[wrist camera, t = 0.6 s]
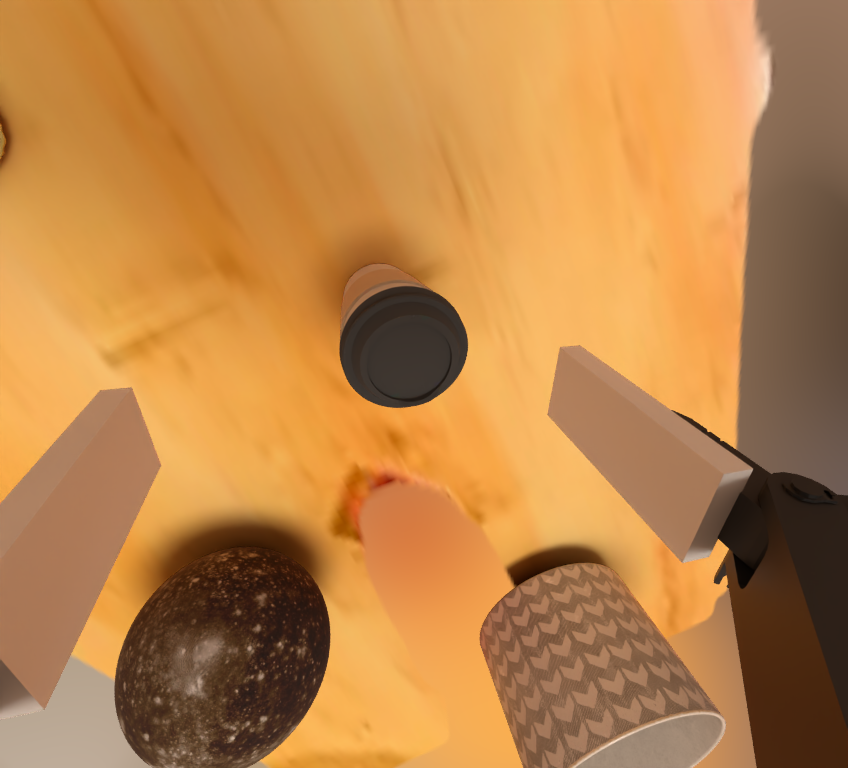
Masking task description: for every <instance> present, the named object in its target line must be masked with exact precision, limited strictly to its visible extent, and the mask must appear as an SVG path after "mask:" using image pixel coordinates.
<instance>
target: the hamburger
mask: <svg viewBox="0 0 848 768" xmlns="http://www.w3.org/2000/svg"><path fill="white" fill-rule="evenodd" d="M5 145H6V138H5V135H4V133H3V131H2V125H1V123H0V160H1V157H2V156H3V154H4V147H5Z"/></svg>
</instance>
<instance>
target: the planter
mask: <svg viewBox="0 0 848 768" xmlns="http://www.w3.org/2000/svg"><path fill="white" fill-rule="evenodd" d="M480 645H481V648H482V651H483V654H484V657H485V659H486V662H487V665H488V668H489V670H490V674H491V676H492V679H493V682H494V685H495V688H496V691H497V694H498V697H499V699H500V702H501V705H502V708H503V710H504V714H505V717H506V719H507V722H508V725H509V728H510V731H511V734H512V737H513V739H514V742H515V745H516V748H517V751H518V754H519V757H520V759H521V762H522V765H523V768H693V767H694V766H696V765H697V764H698V763H699V762H700V761H702V760H703V759H704V758H705V757H706V756H707V755H708V754H709V753H710V752H711V751H712V750H713V749H714V748H715V746H716V745H717V744H718V743H719V741H720V740H721V738H722V736H723V735H724V732H725V728H726V722H725V720H724V717H723V716H722V715H721V714H720V712H719V711H718V709H717V708H716V707H715V705H714V704H713V703H712V701H711V700H710V698H709V697H708V696H707V694H706V693H705V692H704V690H703V689H702V688H701V687H700V685H699V684H698V682H697V681H696V680H695V678H694V677H693V676H692V674H691V673H690V671H689V670H688V669H687V667H686V666H685V665H684V664H683V662H682V661H681V660H680V658H679V657H678V655H677V654H676V653H675V651H674V650H673V648H672V647H671V646H670V644H669V643H668V642H667V640H666V639H665V638H664V636H663V635H662V634H661V632H660V631H659V630H658V628H657V627H656V625H655V624H654V623H653V621H652V620H651V619H650V617H649V616H648V615H647V613H646V612H645V611H644V609H643V608H642V607H641V605H640V604H639V603H638V601H637V600H636V598H635V597H634V596H633V594H632V593H631V592H630V590H629V589H628V588H627V586H626V585H625V584H624V582H623V581H622V580H621V578H620V577H619V576H618V574H617V573H616V572H615V571H613V570H612V569H610V568H609V567H607V566H604V565H601V564H596V563H575V564H568V565H564V566H560V567H556V568H553V569H550V570H547V571H545V572H542V573H540V574H538V575H536V576H534V577H532V578H530V579H528V580H526V581H525V582H523V583H521V584H520V585H518V586H517V587H515V588H514V589H513V590H511V591H510V592H509V593H508V594H506V595H505V596H504V597H503V598H502V599H501V600H500V601H499V602H498V603H497V604H496V605H495V606H494V607H493V608H492V610H491V611H490V612H489V614H488V615H487V617H486V619H485V621H484V623H483V625H482V628H481V632H480Z"/></svg>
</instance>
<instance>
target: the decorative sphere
mask: <svg viewBox="0 0 848 768" xmlns="http://www.w3.org/2000/svg"><path fill="white" fill-rule="evenodd" d="M329 649H330V623H329V616H328V611H327V607H326V604H325V601H324V598H323V596H322V594H321V591H320V589H319V588H318V586H317V584H316V583H315V581H314V580H313V578H312V577H311V576H310V574H309V573H308V572H307V571H306V570H305V569H304V568H303V567H302V566H301V565H299V564H298V563H297V562H295V561H294V560H293V559H291V558H289V557H287V556H285V555H283V554H281V553H279V552H276V551H273V550H270V549H265V548H259V547H236V548H229V549H224V550H221V551H217V552H214V553H211V554H209V555H206V556H204V557H201V558H199V559H197V560H195V561H193V562H192V563H190V564H188V565H187V566H185V567H183V568H182V569H181V570H179V571H178V572H177V573H175V574H174V575H173V576H171V577H170V578H169V579H168V580H167V581H166V582H165V583H163V584H162V585H161V586H160V587H159V588H158V589H157V590H156V591H155V593H154V594H153V595H152V596H151V597H150V598H149V600H148V601H147V602H146V603H145V605H144V606H143V608H142V609H141V610H140V612H139V613H138V615H137V616H136V618H135V620H134V622H133V624H132V625H131V627H130V629H129V631H128V634H127V636H126V638H125V640H124V643H123V646H122V649H121V652H120V656H119V659H118V664H117V668H116V676H115V705H116V712H117V716H118V720H119V723H120V726H121V729H122V731H123V733H124V735H125V738H126V740H127V741H128V743H129V744H130V746H131V747H132V749H133V750H134V751H135V753H136V754H137V755H138V756H139V757H140V758H141V759H142V760H143V761H144V762H146V763H147V764H148V765H150V766H151V767H153V768H247V767H249V766H251V765H253V764H255V763H256V762H258V761H259V760H261V759H262V758H264V757H265V756H267V755H268V754H270V753H271V752H272V751H273V750H274V749H276V748H277V747H278V746H279V745H280V744H281V743H282V742H283V741H284V740H285V739H286V738H287V737H288V736H289V735H290V734H291V733H292V732H293V731H294V730H295V728H296V727H297V726H298V724H299V723H300V722H301V720H302V719H303V718H304V716H305V715H306V713H307V712H308V710H309V708H310V707H311V705H312V703H313V701H314V699H315V697H316V695H317V693H318V691H319V688H320V686H321V683H322V681H323V677H324V674H325V671H326V667H327V662H328V657H329Z"/></svg>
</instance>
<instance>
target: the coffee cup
mask: <svg viewBox="0 0 848 768" xmlns="http://www.w3.org/2000/svg"><path fill="white" fill-rule="evenodd" d="M467 351H468V339H467V334H466V330H465V327H464V325H463V323H462V321H461V319H460V317H459V315H458V313H457V311H456V310H455V309H454V307H453V306H452V305H451V304H450V303H449V302H448V301H447V300H446V299H445V298H443V297H442V296H440V295H439V294H437V293H435V292H433V291H432V290H431V289H429V288H428V287H426V286H425V285H423V284H422V283H421V282H419V281H418V280H416V279H415V278H413V277H412V276H410V275H409V274H407V273H405V272H402V271H401V270H400V269H398V268H396V267H394V266H392V265H388V264H371V265H368V266H365V267H363V268H361V269H359V270H358V271H357V272H355V273H354V274H353V275H352V276H351V278H350V279H349V281H348V282H347V284H346V286H345V289H344V294H343V302H342V306H341V330H340V360H341V364H342V367H343V370H344V373H345V376H346V378H347V380H348V382H349V383H350V385H351V386H352V387H353V389H354V390H355V391H356V392H357V393H358V394H359V395H361V396H362V397H363V398H365V399H367V400H368V401H370V402H373V403H375V404H378V405H381V406H385V407H393V408H403V407H411V406H417V405H421V404H424V403H426V402H429V401H431V400H432V399H434V398H435V397H437V396H438V395H440V394H441V393H443V392H444V391H445V390H446V389H447V388H448V387H450V385H451V384H452V383H453V382H454V381H455V380H456V378H457V377H458V375H459V374H460V372H461V370H462V368H463V366H464V363H465V360H466V357H467Z"/></svg>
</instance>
